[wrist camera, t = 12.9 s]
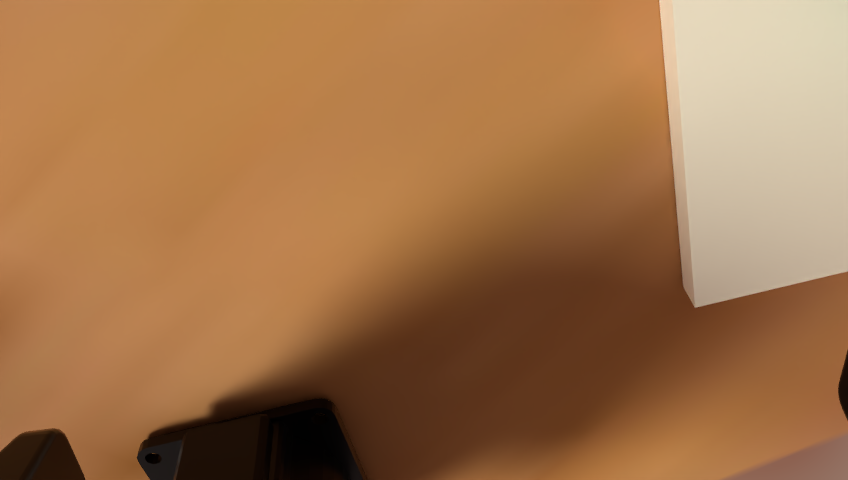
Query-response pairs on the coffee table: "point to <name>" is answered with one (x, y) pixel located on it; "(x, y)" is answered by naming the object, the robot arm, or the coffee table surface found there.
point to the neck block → (758, 141)
